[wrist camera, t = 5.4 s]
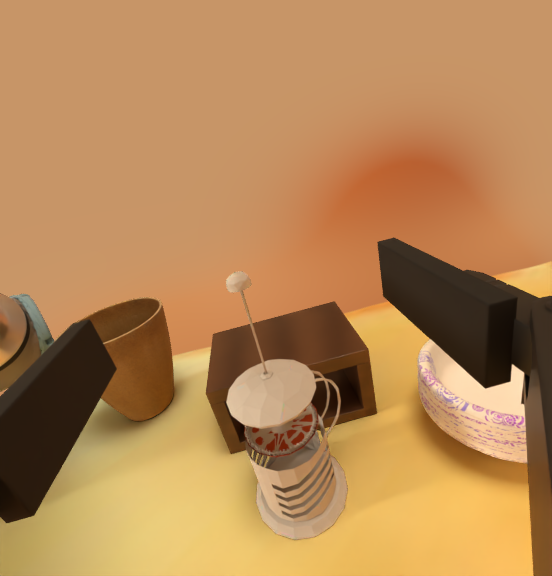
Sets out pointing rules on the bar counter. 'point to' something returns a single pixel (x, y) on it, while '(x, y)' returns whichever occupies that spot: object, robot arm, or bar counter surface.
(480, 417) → the paper bowls
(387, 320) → the bar counter surface
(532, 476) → the robot arm
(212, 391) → the shelf
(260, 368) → the french press
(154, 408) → the plant pot
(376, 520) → the bar counter surface
